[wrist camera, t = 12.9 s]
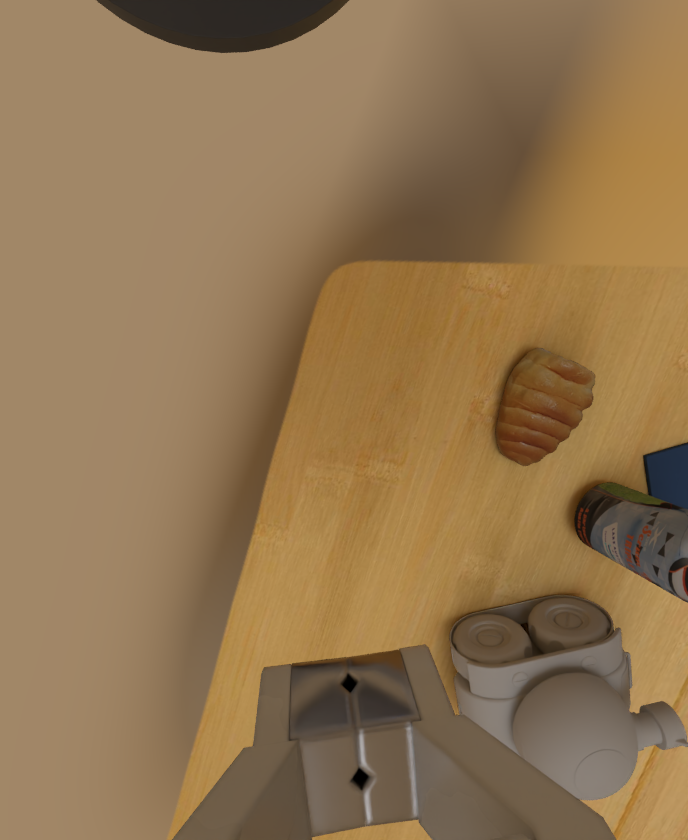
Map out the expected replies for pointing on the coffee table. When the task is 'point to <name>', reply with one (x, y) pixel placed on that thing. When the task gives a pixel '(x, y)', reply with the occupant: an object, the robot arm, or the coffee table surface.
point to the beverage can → (637, 534)
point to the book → (668, 475)
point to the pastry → (541, 405)
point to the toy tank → (558, 692)
